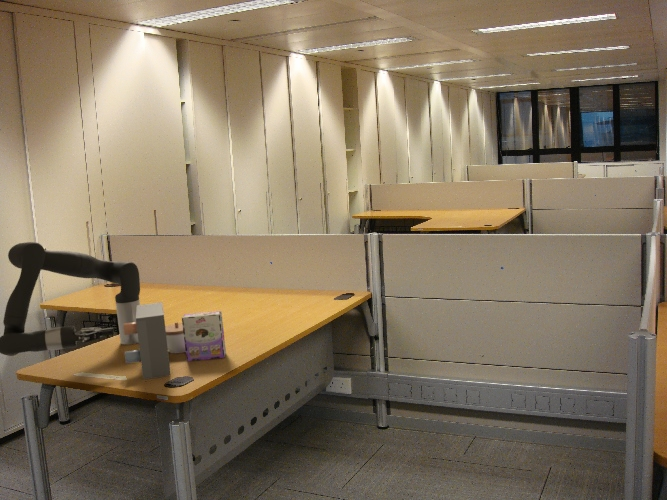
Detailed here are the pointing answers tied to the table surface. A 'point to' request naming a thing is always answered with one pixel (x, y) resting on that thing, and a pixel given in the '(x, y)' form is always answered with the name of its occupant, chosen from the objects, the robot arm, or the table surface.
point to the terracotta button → (130, 328)
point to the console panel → (152, 340)
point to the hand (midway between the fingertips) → (113, 330)
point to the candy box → (204, 336)
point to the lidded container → (175, 338)
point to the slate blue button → (132, 356)
